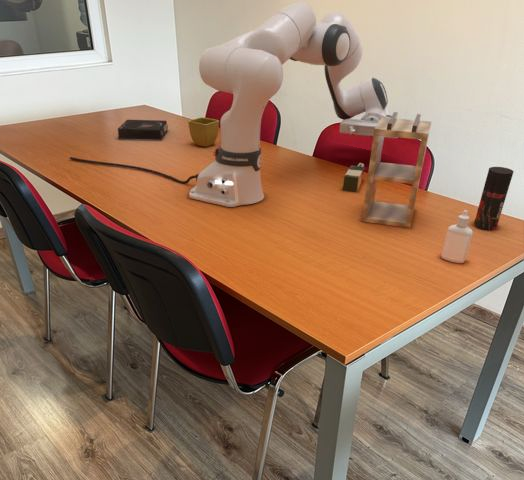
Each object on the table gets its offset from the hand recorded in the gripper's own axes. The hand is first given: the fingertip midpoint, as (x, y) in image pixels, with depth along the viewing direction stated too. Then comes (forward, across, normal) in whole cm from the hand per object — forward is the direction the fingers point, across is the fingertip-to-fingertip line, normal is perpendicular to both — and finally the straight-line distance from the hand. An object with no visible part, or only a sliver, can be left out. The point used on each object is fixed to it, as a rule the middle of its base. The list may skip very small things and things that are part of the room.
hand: (366, 133), depth 171 cm
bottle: (+12, 0, +12) cm, 17 cm away
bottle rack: (+39, +14, +12) cm, 43 cm away
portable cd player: (-15, -92, +12) cm, 94 cm away
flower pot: (-10, -63, +12) cm, 65 cm away
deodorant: (+37, +40, +12) cm, 56 cm away
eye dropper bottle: (+62, +32, +12) cm, 71 cm away
